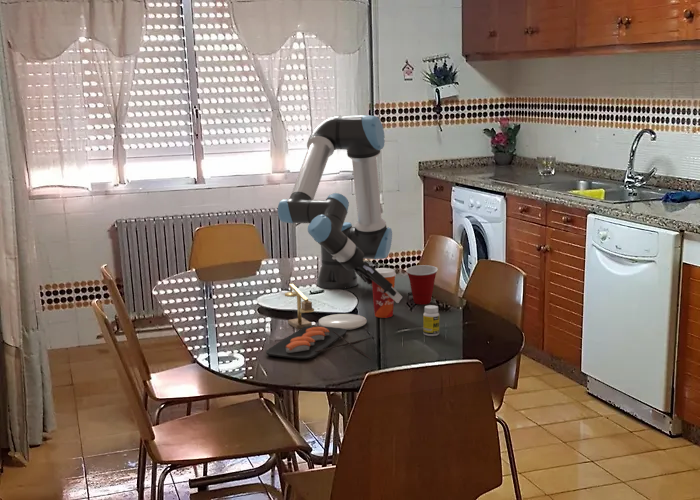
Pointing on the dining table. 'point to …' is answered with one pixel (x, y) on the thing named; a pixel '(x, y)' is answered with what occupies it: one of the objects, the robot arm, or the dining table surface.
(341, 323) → the white round disc
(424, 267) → the plastic cup
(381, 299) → the coffee cup
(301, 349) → the sushi plate
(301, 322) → the balance
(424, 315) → the supplement bottle
